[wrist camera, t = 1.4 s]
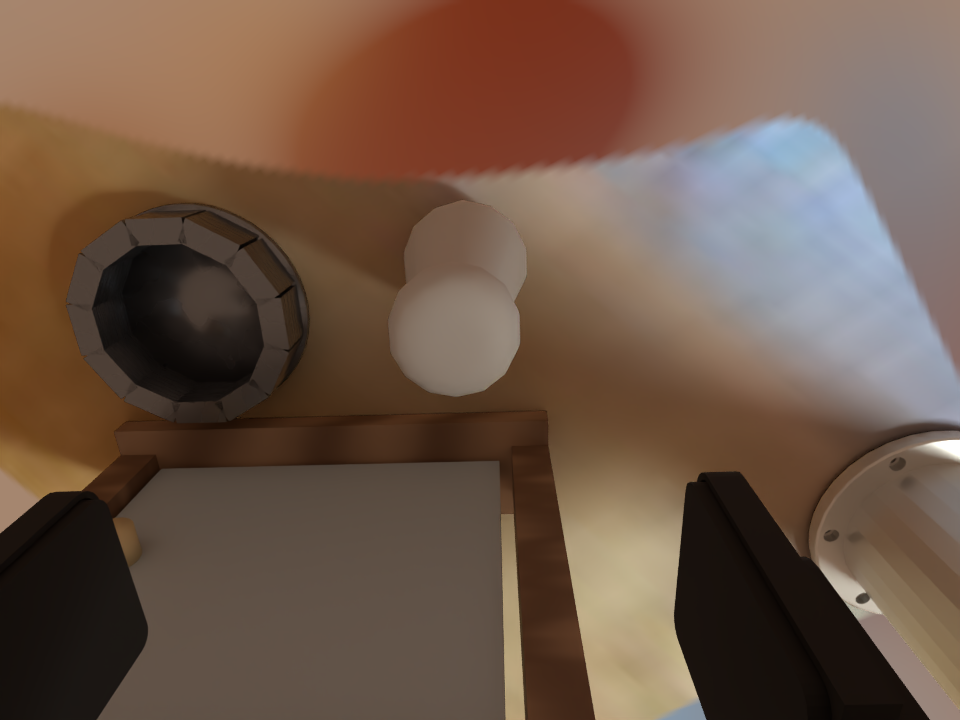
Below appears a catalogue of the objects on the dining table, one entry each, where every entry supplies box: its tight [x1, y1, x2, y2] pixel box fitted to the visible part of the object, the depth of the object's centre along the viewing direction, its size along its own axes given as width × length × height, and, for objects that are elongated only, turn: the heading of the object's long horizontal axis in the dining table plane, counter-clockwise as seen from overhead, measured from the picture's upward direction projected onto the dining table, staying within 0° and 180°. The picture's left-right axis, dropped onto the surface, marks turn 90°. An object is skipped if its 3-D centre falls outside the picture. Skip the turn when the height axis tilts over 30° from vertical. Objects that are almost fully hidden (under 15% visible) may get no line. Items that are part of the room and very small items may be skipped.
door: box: [97, 461, 505, 720], centre depth 26 cm, size 19×3×16 cm, turn 92°
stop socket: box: [66, 203, 309, 423], centre depth 30 cm, size 11×11×3 cm
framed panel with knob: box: [82, 411, 595, 720], centre depth 26 cm, size 24×6×20 cm, turn 92°
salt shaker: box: [388, 200, 527, 397], centre depth 24 cm, size 6×6×13 cm
